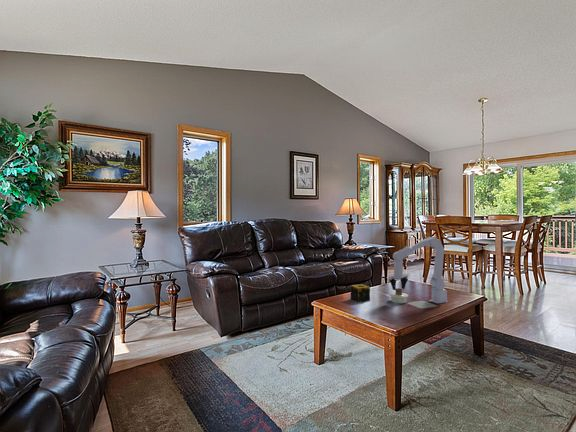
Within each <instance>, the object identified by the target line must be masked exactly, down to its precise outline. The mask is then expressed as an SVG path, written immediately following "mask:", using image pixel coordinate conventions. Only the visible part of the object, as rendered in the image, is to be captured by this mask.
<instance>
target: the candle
mask: <svg viewBox="0 0 576 432" xmlns="http://www.w3.org/2000/svg"><path fill="white" fill-rule="evenodd" d="M350 300H351V301H354V302H357V303H364V302H365V303H366V302H370V301H371V287H370V286H369V285H366V284H363V283H361V284H352V285H351V284H350Z"/></svg>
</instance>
